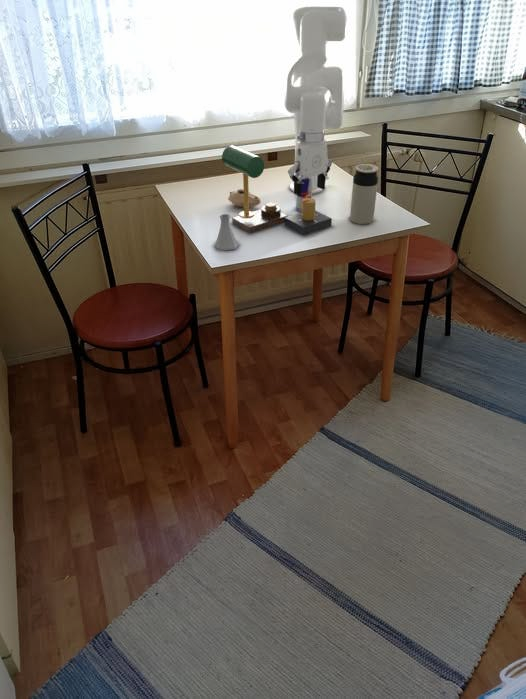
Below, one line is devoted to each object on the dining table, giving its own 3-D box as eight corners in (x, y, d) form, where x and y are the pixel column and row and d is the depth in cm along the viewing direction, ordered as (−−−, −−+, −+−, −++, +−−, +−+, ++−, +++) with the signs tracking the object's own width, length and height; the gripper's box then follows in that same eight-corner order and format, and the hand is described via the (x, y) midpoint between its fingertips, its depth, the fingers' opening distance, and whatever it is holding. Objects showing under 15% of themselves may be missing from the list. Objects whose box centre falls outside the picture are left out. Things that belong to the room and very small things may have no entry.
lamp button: (271, 206, 198) (271, 201, 197) (278, 209, 195) (278, 204, 194) (263, 208, 196) (263, 204, 195) (269, 212, 194) (269, 207, 193)
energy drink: (300, 213, 202) (301, 179, 195) (293, 208, 206) (293, 175, 199) (313, 210, 204) (315, 177, 197) (305, 205, 208) (307, 172, 201)
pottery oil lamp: (253, 212, 202) (243, 195, 198) (231, 214, 210) (221, 198, 206) (267, 197, 205) (257, 180, 201) (245, 199, 214) (235, 183, 210)
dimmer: (311, 217, 199) (312, 208, 197) (331, 226, 193) (331, 217, 191) (284, 225, 194) (284, 216, 192) (303, 236, 187) (303, 226, 185)
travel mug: (352, 225, 194) (357, 172, 183) (347, 215, 200) (352, 163, 190) (375, 224, 194) (381, 171, 184) (370, 214, 201) (376, 163, 190)
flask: (214, 241, 184) (212, 211, 178) (237, 240, 185) (236, 210, 179) (215, 251, 178) (213, 221, 172) (238, 250, 179) (237, 220, 173)
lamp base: (270, 212, 203) (270, 201, 200) (287, 221, 196) (288, 210, 194) (232, 223, 195) (231, 212, 193) (249, 233, 189) (249, 222, 186)
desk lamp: (240, 207, 196) (239, 143, 184) (265, 220, 187) (265, 154, 175) (224, 211, 193) (221, 147, 181) (248, 225, 184) (247, 158, 172)
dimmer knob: (309, 214, 194) (309, 195, 190) (317, 218, 191) (318, 199, 187) (298, 217, 192) (299, 198, 188) (307, 221, 189) (308, 203, 185)
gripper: (297, 144, 169) (295, 200, 179) (341, 134, 178) (337, 189, 187) (281, 138, 174) (281, 193, 184) (325, 129, 182) (322, 182, 192)
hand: (309, 191), depth 186 cm, fingers open, 9 cm apart
